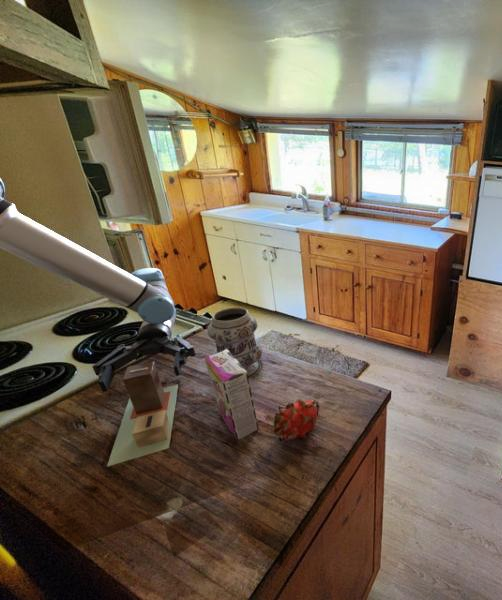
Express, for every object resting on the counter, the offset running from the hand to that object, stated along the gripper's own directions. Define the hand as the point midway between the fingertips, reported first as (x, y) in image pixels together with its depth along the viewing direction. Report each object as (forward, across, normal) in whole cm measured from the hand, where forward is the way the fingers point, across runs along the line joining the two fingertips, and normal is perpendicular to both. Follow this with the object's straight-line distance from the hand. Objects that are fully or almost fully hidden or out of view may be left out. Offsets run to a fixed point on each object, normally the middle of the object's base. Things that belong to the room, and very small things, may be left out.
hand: (141, 378), depth 74 cm
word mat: (+5, 0, -8) cm, 10 cm away
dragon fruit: (+22, -30, -8) cm, 38 cm away
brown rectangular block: (0, 0, -8) cm, 8 cm away
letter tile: (+11, -2, -8) cm, 14 cm away
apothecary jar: (-6, -20, -8) cm, 23 cm away
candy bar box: (+14, -18, -8) cm, 24 cm away
